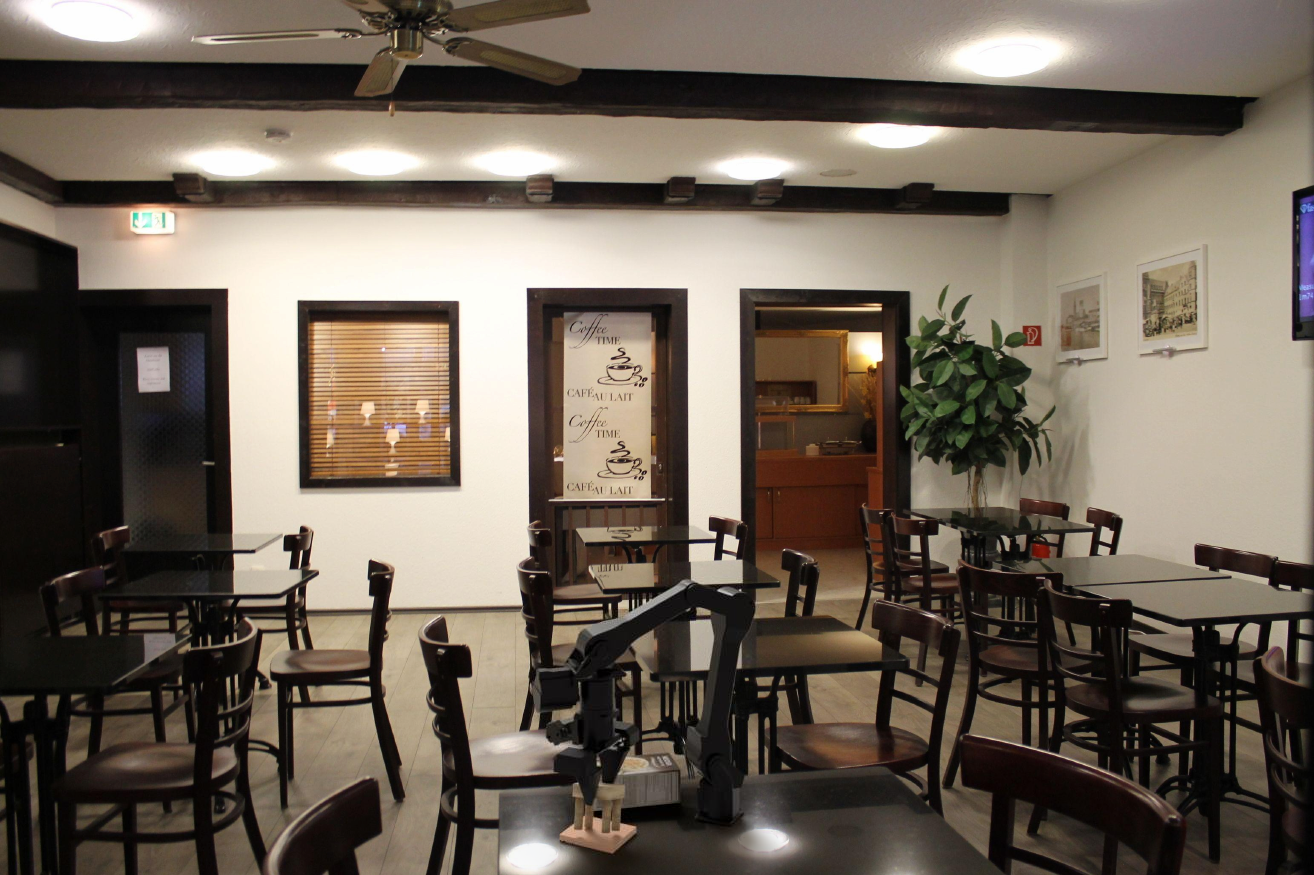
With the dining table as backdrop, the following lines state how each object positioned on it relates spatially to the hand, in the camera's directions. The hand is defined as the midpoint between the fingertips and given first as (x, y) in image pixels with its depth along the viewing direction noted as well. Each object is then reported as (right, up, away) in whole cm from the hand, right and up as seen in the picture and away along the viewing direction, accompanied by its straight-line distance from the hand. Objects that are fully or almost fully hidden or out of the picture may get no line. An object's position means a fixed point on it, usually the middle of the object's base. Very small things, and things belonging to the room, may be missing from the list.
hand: (598, 798), depth 148 cm
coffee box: (-3, -3, +13) cm, 14 cm away
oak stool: (0, -4, -2) cm, 5 cm away
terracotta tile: (0, -6, 0) cm, 6 cm away
